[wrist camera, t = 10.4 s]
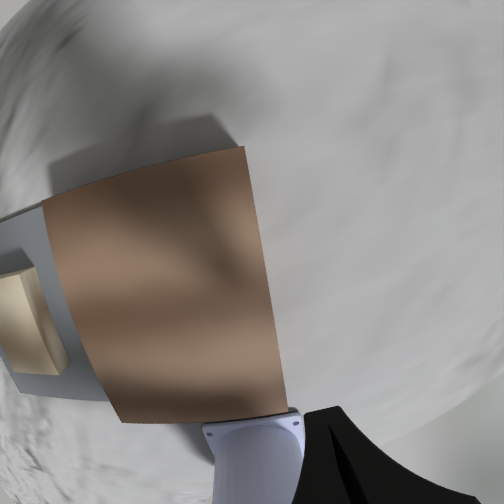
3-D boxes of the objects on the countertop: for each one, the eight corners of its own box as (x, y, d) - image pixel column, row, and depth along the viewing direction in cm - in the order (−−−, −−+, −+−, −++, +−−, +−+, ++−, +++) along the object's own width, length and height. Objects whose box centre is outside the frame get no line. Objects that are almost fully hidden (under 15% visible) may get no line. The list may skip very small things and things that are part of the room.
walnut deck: (283, 384, 20) (288, 411, 17) (133, 398, 20) (121, 422, 17) (243, 152, 16) (243, 145, 13) (67, 197, 16) (41, 201, 13)
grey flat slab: (129, 398, 20) (128, 401, 20) (22, 390, 20) (20, 392, 20) (63, 198, 16) (60, 199, 16) (-35, 239, 16) (-38, 240, 16)
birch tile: (14, 371, 17) (25, 361, 19) (59, 375, 17) (70, 362, 19) (-22, 284, 15) (-7, 277, 17) (19, 274, 15) (35, 266, 17)
